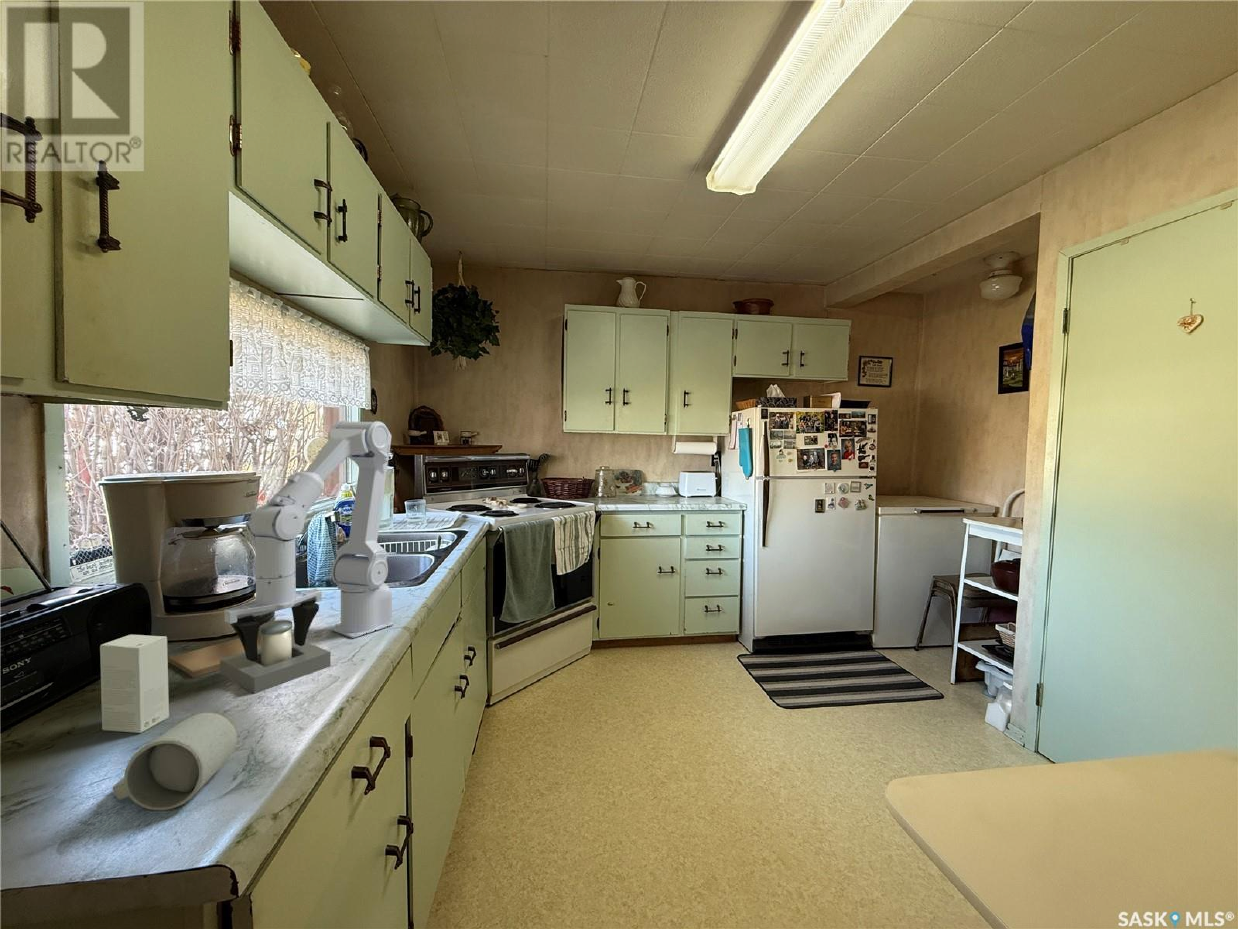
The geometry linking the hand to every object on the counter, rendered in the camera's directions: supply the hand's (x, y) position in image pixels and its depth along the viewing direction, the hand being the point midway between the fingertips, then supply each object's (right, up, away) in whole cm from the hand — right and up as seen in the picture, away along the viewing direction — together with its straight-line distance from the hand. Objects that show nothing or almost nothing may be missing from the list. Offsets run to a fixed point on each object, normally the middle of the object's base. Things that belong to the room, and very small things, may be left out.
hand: (276, 651), depth 88 cm
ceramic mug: (+8, -5, -30) cm, 31 cm away
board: (-12, -3, +5) cm, 14 cm away
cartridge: (0, -3, 0) cm, 3 cm away
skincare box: (-8, -4, -17) cm, 19 cm away
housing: (0, -3, 0) cm, 3 cm away
